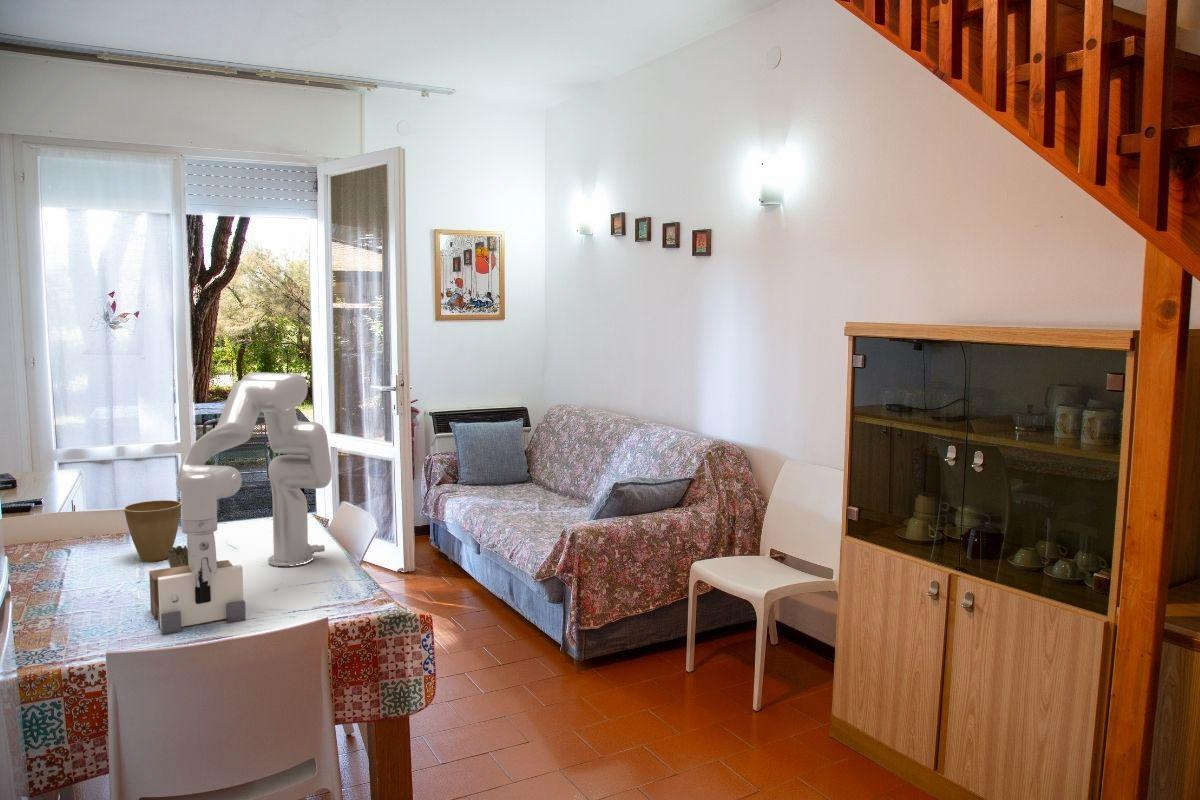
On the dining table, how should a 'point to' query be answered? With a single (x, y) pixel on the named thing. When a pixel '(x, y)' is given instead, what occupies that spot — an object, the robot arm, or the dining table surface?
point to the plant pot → (153, 527)
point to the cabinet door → (181, 595)
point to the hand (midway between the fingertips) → (202, 600)
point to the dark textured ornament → (178, 557)
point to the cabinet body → (168, 572)
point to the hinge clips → (173, 619)
